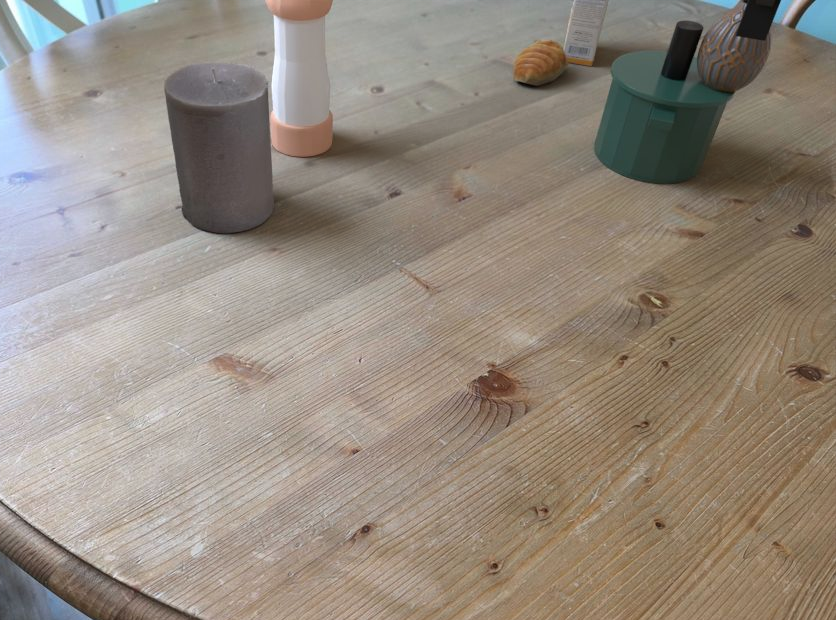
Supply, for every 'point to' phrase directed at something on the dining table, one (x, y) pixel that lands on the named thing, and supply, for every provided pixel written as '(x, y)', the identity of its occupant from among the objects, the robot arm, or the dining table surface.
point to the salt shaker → (300, 78)
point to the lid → (669, 73)
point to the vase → (731, 54)
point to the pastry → (540, 63)
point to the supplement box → (584, 30)
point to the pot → (654, 137)
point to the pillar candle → (221, 145)
